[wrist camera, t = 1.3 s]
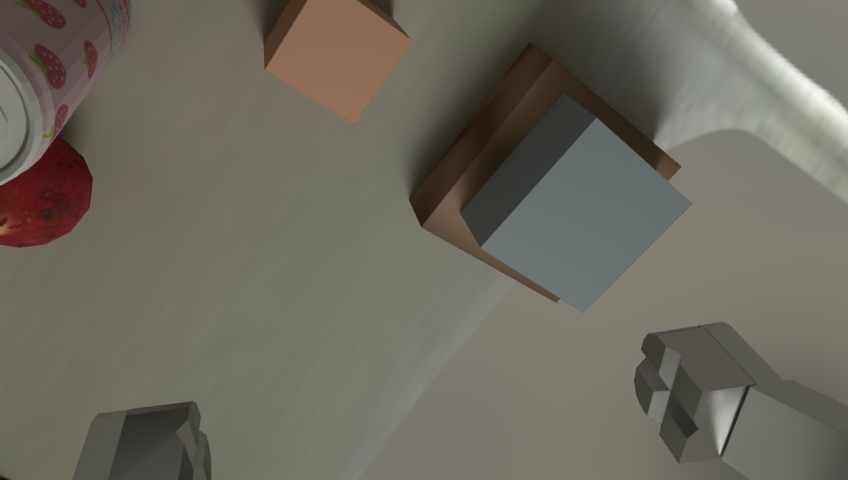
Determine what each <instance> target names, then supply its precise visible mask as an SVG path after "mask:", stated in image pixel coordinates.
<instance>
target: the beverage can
mask: <svg viewBox="0 0 848 480" xmlns="http://www.w3.org/2000/svg"><path fill="white" fill-rule="evenodd" d="M130 25H131V11H130V4H129V0H0V185H2V184H4V183H6V182H8V181H10V180H11V179H13V178H15V177H17V176H18V175H19V174H21V173H22V172H24V171H26V170H28V169H29V168H30V167H31V166H32V165H33V164H34V163H36V162H37V161H38V160H39V159H40V158H41V157H42V155H43V154H44V153H45V151H46V150H47V148H48V147H49V146H50V144H51V143H52V142H53V140H54V139H55V137H56V136H57V135H58V133H59V132H60V131H61V129H62V128H63V127H64V125H65V124H66V122H67V121H68V120H69V118H70V117H71V116H72V114H73V113H74V111H75V110H76V109H77V107H78V106H79V105H80V103H81V102H82V101H83V99H84V98H85V96H86V95H87V94H88V92H89V91H90V90H91V88H92V87H93V85H94V84H95V83H96V81H97V80H98V79H99V77H100V76H101V75H102V73H103V72H104V70H105V69H106V68H107V66H108V65H109V64H110V62H111V61H112V59H113V58H114V57H115V55H116V54H117V53H118V51H119V50H120V48H121V47H122V45H123V44H124V42H125V41H126V39H127V36H128V33H129V30H130Z"/></svg>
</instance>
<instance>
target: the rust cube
mask: <svg viewBox="0 0 848 480" xmlns="http://www.w3.org/2000/svg"><path fill="white" fill-rule="evenodd" d="M411 41H412V40H411V39H410V37H409V36H408V35H407V34H406V33H405V32H404V30H403V29H402V28H401V27H400V26H399V25H398V23H397V22H396V21H395V20H394V19H393V18H392V17H391V16H389V15H388V14H387V13H385V12H384V11H383V10H381V9H380V8H378V7H377V6H376V5H374V4H373V3H372V2H370V1H369V0H290V1H289V2H288V4H287V5H286V7H285V9H284V10H283V12H282V14H281V15H280V17H279V19H278V20H277V22H276V24H275V25H274V27H273V29H272V30H271V32H270V34H269V35H268V37H267V39H266V40H265V42H264V64H265V71H267V72H269V73H270V74H272V75H273V76H275V77H277V78H278V79H280V80H282V81H283V82H285V83H287V84H288V85H290V86H291V87H293V88H295V89H296V90H298V91H300V92H301V93H303V94H305V95H306V96H308V97H309V98H311V99H313V100H314V101H316V102H318V103H319V104H321V105H323V106H324V107H326V108H327V109H329V110H331V111H332V112H334V113H336V114H337V115H339V116H341V117H342V118H344V119H346V120H347V121H349V122H350V123H352V124H355V123H356V121H357V120H358V118H359V117H360V116H361V114H362V113H363V111H364V110H365V108H366V107H367V105H368V104H369V102H370V101H371V100H372V98H373V97H374V95H375V94H376V92H377V91H378V89H379V88H380V86H381V85H382V84H383V82H384V81H385V79H386V78H387V76H388V75H389V73H390V72H391V70H392V69H393V68H394V66H395V65H396V63H397V62H398V60H399V59H400V57H401V56H402V54H403V53H404V52H405V50H406V49H407V47H408V46H409V44H410V43H411Z"/></svg>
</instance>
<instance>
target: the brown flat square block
mask: <svg viewBox="0 0 848 480" xmlns="http://www.w3.org/2000/svg"><path fill="white" fill-rule="evenodd" d="M562 93H565V94H566V95H567V96H569V97H570V98H571V99H573V100H574V101H575V102H577V103H578V104H579V105H581V106H582V107H583V108H585V109H586V110H587V111H589V112H590V113H591V114H593V115H594V116H595V117H597V118H598V119H599V120H600V121H601V122H602V123H603V124H604V125H606V126H607V127H608V128H609V129H610V130H611V131H612V132H613V133H614V134H616V135H617V136H618V137H619V138H620V139H621V140H622V141H623V142H624V143H626V144H627V145H628V146H629V147H630V148H631V149H632V150H633V151H634V152H636V153H637V154H638V155H639V156H640V157H641V158H642V159H643V160H644V161H646V162H647V163H648V164H649V165H650V166H651V167H652V168H653V169H654V170H656V171H657V172H658V173H659V174H660V175H661V176H662V177H663V178H665V179H666V180H667V181H669V179H670V178H671V177H672V176H673V175H674V174H675V173H676V172H677V171H678V170H679V169H680V167H681V166H680V165H679V164H678V163H677V162H675V161H674V160H673V159H672V158H671V157H669V155H667V154H666V153H665V152H664V151H663V150H661V149H660V148H659V147H658V146H657V145H655V144H654V143H653V142H652V141H651V140H649V139H648V138H647V137H646V136H645V135H643V134H642V133H641V132H640V131H639V130H638V129H636V128H635V127H634V126H633V125H632V124H630V123H629V122H628V121H627V120H626V119H624V118H623V117H622V116H621V115H620V114H618V113H617V112H616V111H615V110H614V109H612V108H611V107H610V106H609V105H608V104H607V103H605V102H604V101H603V100H602V99H601V98H599V97H598V96H597V95H596V94H595V93H593V92H592V91H591V90H590V89H589V88H587V87H586V86H585V85H584V84H583V83H581V82H580V81H579V80H578V79H577V78H576V77H574V76H573V75H572V74H571V73H570V72H568V71H567V70H566V69H565V68H564V67H562V66H561V65H560V64H559V63H558V62H556V61H555V60H554V59H553V58H551V57H550V56H548V55H547V54H545V53H544V52H542V51H541V50H539V49H538V48H536V47H535V46H533V45H532V44H530V43H529V45H528V46H527V47H526V49H525V50H524V51H523V52H522V54H521V55H520V56H519V58H518V59H517V60H516V62H515V63H514V64H513V65H512V67H511V68H510V69H509V71H508V72H507V73H506V75H505V76H504V77H503V78H502V80H501V81H500V82H499V84H498V85H497V86H496V88H495V89H494V90H493V91H492V93H491V94H490V95H489V97H488V98H487V99H486V101H485V102H484V103H483V104H482V106H481V107H480V108H479V110H478V111H477V112H476V114H475V115H474V116H473V117H472V119H471V120H470V121H469V123H468V124H467V125H466V127H465V128H464V129H463V131H462V132H461V133H460V134H459V136H458V137H457V138H456V140H455V141H454V142H453V144H452V145H451V146H450V147H449V149H448V150H447V151H446V153H445V154H444V155H443V157H442V158H441V159H440V160H439V162H438V163H437V164H436V166H435V167H434V168H433V170H432V171H431V172H430V173H429V175H428V176H427V177H426V179H425V180H424V181H423V183H422V184H421V185H420V186H419V188H418V189H417V190H416V192H415V193H414V194H413V196H412V197H411V198H410V199H409V201H410V203H411V205H412V208H413V210H414V212H415V214H416V216H417V219H418V221H419V223H420V225H421V227H422V228H424V229H425V230H427V231H429V232H431V233H433V234H434V235H436V236H438V237H440V238H442V239H443V240H445V241H447V242H449V243H450V244H452V245H454V246H456V247H458V248H459V249H461V250H463V251H465V252H467V253H468V254H470V255H472V256H474V257H475V258H477V259H479V260H481V261H483V262H484V263H486V264H488V265H490V266H492V267H493V268H495V269H497V270H499V271H500V272H502V273H504V274H506V275H508V276H509V277H511V278H513V279H515V280H517V281H518V282H520V283H522V284H524V285H525V286H527V287H529V288H531V289H533V290H534V291H536V292H538V293H540V294H542V295H544V296H545V297H547V298H549V299H551V300H552V301H554V302H557V301H558V300H559V299H560V298H559V297H557V296H555V295H554V294H552V293H551V292H549V291H548V290H546V289H544V288H543V287H541V286H540V285H538V284H537V283H535V282H533V281H532V280H530V279H529V278H527V277H525V276H524V275H522V274H521V273H519V272H518V271H516V270H514V269H513V268H511V267H510V266H508V265H506V264H505V263H503V262H502V261H500V260H499V259H497V258H495V257H494V256H492V255H491V254H489V253H488V252H486V251H484V250H483V249H481V248H480V247H479V245H478V243H477V241H476V240H475V238H474V236H473V235H472V233H471V231H470V229H469V228H468V226H467V224H466V223H465V221H464V219H463V217H462V216H461V214H460V212H461V211H462V210H463V208H464V207H465V206H466V205H467V204H468V203H469V201H470V200H471V199H472V198H473V197H474V196H475V195H476V193H477V192H478V191H479V190H480V189H481V188H482V186H483V185H484V184H485V183H486V182H487V181H488V179H489V178H490V177H491V176H492V175H493V174H494V172H495V171H496V170H497V169H498V168H499V167H500V165H501V164H502V163H503V162H504V161H505V160H506V159H507V157H508V156H509V155H510V154H511V153H512V152H513V150H514V149H515V148H516V147H517V146H518V145H519V143H520V142H521V141H522V140H523V139H524V138H525V136H526V135H527V134H528V133H529V132H530V131H531V129H532V128H533V127H534V126H535V125H536V124H537V123H538V121H539V120H540V119H541V118H542V117H543V116H544V114H545V113H546V112H547V111H548V110H549V109H550V107H551V106H552V105H553V104H554V103H555V102H556V100H557V99H558V98H559V97H560V96H561V95H562Z"/></svg>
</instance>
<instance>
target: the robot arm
mask: <svg viewBox="0 0 848 480" xmlns="http://www.w3.org/2000/svg"><path fill="white" fill-rule="evenodd" d="M641 350H642V352H643V353H644V354H645V356H646V358H645V359H644V360H643V361H642V362H641V363H640V364H639V365H638V366H637V369H636V374H635V379H634V383H635V389H636V395H637V398H638V400H639V403H640V405H641V407H642V408H643V410H644V412H645V413H646V415H647V416H648V417H650V418H651V419H653V420H655V421H657V422H658V423H660V424H661V428H660V436H661V438H662V439H663V441H664V442H665V444H666V445H667V447H668V448H669V450H670V451H671V453H672V454H673V456H674V457H675V459H676V460H677V462H678V463H679V464H682V463H689V462H695V461H701V460H708V459H714V458H721V457H722V460H723V461H724V462H726V463H727V464H729V465H730V466H731V467H733V468H734V469H736V470H737V471H738V472H740V473H741V474H743V475H744V476H746V477H747V478H748V479H750V480H848V405H845V404H843V403H841V402H839V401H837V400H835V399H832V398H830V397H828V396H826V395H824V394H821V393H819V392H817V391H815V390H813V389H811V388H808V387H806V386H804V385H802V384H800V383H797V382H795V381H793V380H785V381H783V380H782V379H781V378H780V376H779V375H777V373H775V371H774V370H773V369H772V368H771V367H770V366H769V365H768V364H767V363H766V362H765V361H764V360H763V359H762V358H761V357H760V356H759V355H758V354H757V353H756V352H755V351H754V350H753V348H752V347H750V345H748V343H747V342H746V341H745V340H744V339H743V338H742V337H741V336H740V335H739V334H738V333H737V332H736V331H735V330H734V329H733V328H732V327H731V326H730V325H728V324H726V323H724V322H718V323H712V324H705V325H699V326H697V327H695V326H693V327H687V328H681V329H675V330H668V331H662V332H655V333H649V334H648V335H647V336H646V337H645V339H644V341H643V344H642V348H641ZM200 420H201V415H200V412H199V409H198V406H197V403H195V402H193V401H191V402H183V403H175V404H167V405H159V406H151V407H143V408H135V409H131V410H125V411H116V412H108V413H100V414H98V415H97V416H96V417H95V418H94V420H93V421H92V422H91V425H90V428H89V431H88V434H87V437H86V440H85V443H84V446H83V449H82V452H81V455H80V459H79V462H78V465H77V468H76V471H75V474H74V477H73V480H211V455H210V448H209V443H208V440H207V436H206V434H204V433H203V432H201V431H199V428H200Z"/></svg>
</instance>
